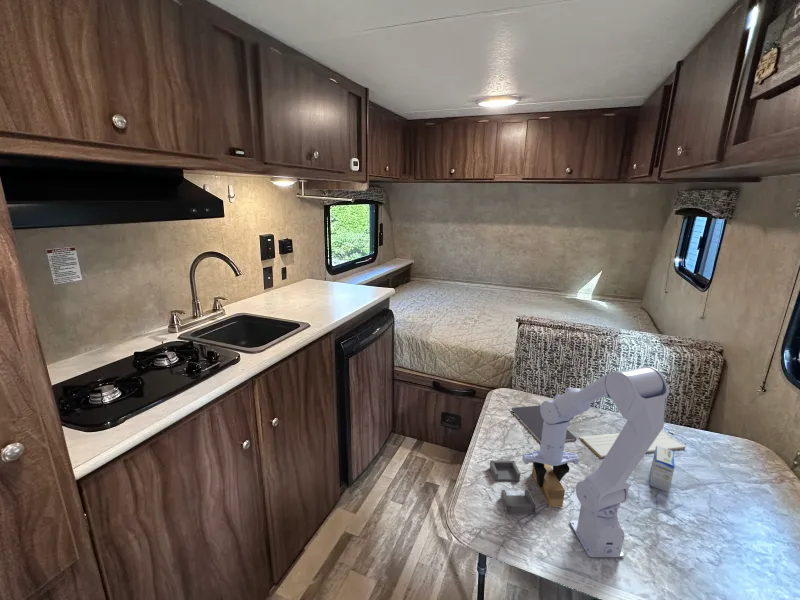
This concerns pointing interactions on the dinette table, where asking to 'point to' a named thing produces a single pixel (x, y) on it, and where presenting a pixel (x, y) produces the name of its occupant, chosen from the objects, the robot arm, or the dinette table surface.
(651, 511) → the dinette table surface
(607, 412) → the dinette table surface
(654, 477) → the medicine box
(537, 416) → the notebook
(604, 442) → the baseboard molding
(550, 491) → the brown wooden block
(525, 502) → the end caps
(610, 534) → the robot arm
